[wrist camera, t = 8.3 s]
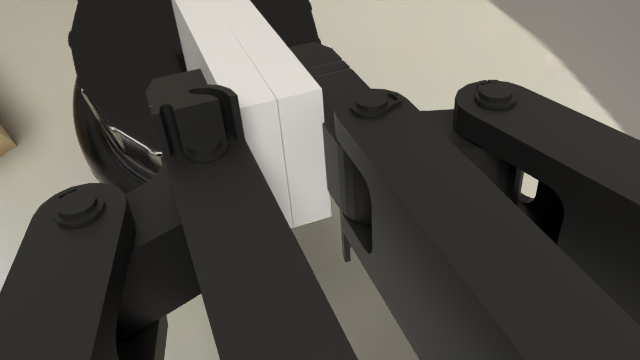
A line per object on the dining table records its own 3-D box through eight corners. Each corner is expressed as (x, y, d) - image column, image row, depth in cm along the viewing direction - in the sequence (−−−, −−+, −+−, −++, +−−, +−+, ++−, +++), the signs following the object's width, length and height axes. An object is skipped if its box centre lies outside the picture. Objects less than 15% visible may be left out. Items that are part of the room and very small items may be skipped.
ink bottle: (98, 253, 26) (20, 224, 14) (80, 63, 27) (-5, -103, 16) (312, 224, 28) (394, 178, 17) (286, 49, 29) (344, -105, 18)
